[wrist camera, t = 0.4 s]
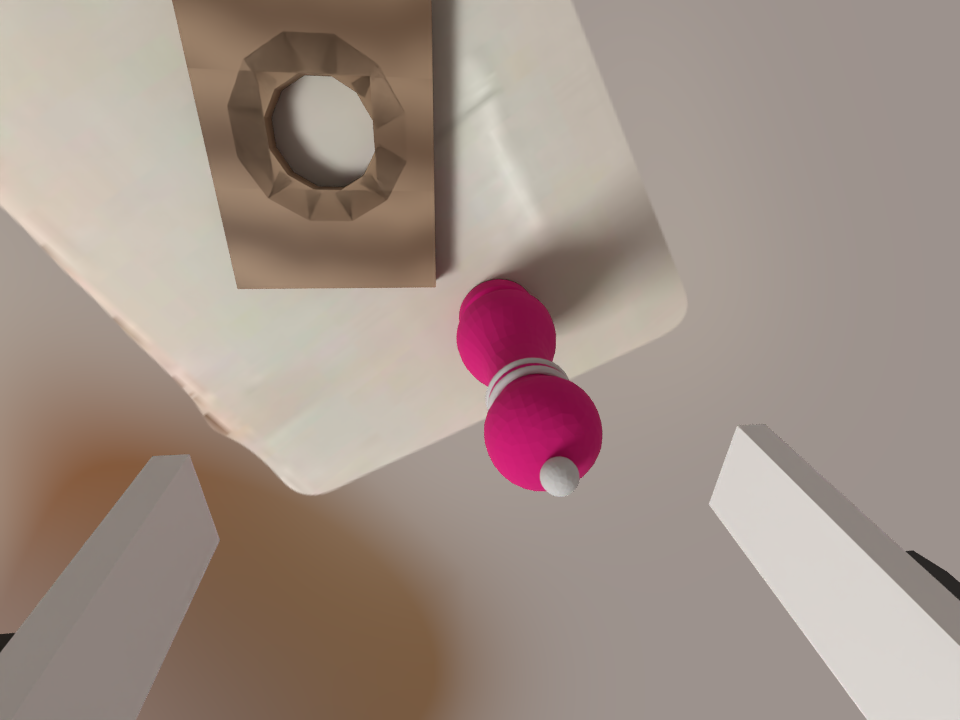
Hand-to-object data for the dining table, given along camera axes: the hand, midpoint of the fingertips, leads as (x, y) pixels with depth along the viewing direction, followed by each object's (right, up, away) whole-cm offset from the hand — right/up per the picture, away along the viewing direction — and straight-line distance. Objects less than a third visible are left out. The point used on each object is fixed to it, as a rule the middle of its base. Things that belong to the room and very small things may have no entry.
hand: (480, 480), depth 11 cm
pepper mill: (+1, +7, +26) cm, 27 cm away
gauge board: (-10, +18, +19) cm, 28 cm away
